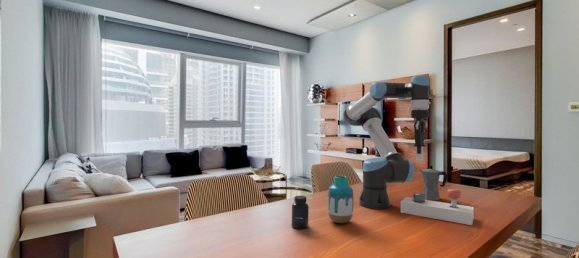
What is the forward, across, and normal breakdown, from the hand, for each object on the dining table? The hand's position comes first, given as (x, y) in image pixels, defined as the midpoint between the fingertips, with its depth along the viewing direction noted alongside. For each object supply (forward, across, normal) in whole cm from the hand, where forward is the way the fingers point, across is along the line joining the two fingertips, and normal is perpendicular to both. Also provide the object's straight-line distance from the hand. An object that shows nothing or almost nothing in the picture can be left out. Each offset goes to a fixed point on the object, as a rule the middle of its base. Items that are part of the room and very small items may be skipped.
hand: (419, 160), depth 130 cm
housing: (+24, 0, -7) cm, 25 cm away
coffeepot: (+24, +30, -1) cm, 39 cm away
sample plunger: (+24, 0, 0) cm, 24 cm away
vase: (+24, -33, +24) cm, 48 cm away
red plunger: (+20, 0, -14) cm, 24 cm away
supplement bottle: (+24, -47, +35) cm, 63 cm away
